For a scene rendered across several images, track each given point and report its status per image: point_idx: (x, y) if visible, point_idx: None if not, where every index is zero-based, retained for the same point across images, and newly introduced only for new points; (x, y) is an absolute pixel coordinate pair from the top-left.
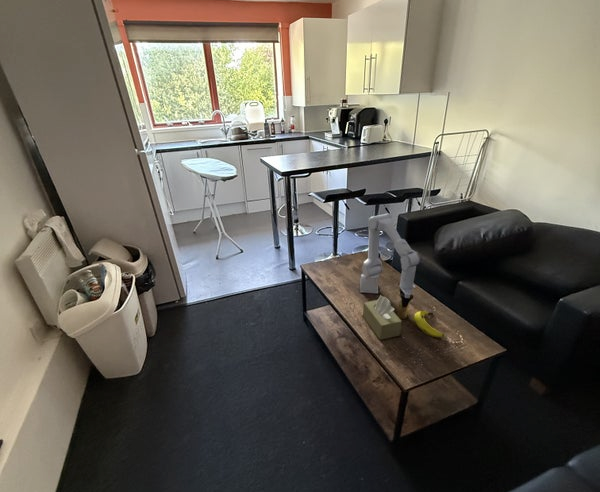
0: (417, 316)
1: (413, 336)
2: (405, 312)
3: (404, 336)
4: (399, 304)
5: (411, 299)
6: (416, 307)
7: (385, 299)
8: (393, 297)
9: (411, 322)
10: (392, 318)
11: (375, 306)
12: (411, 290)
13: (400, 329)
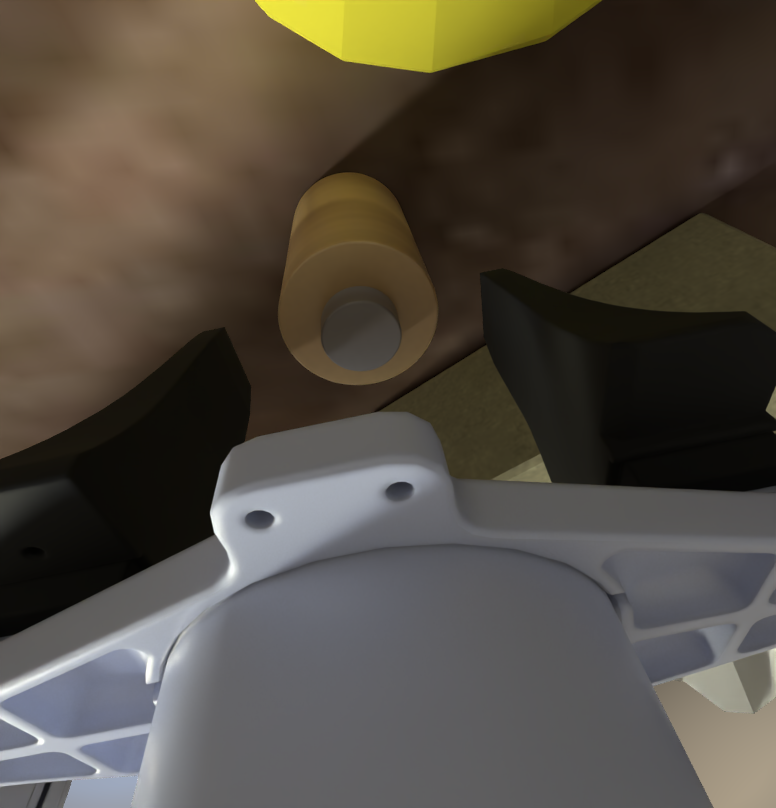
0: (470, 14)
1: (728, 43)
2: (405, 223)
3: (716, 159)
4: (405, 363)
5: (701, 317)
6: (47, 36)
7: (763, 675)
8: (31, 362)
9: (451, 94)
10: (771, 402)
11: None
12: (722, 537)
13: (764, 243)
